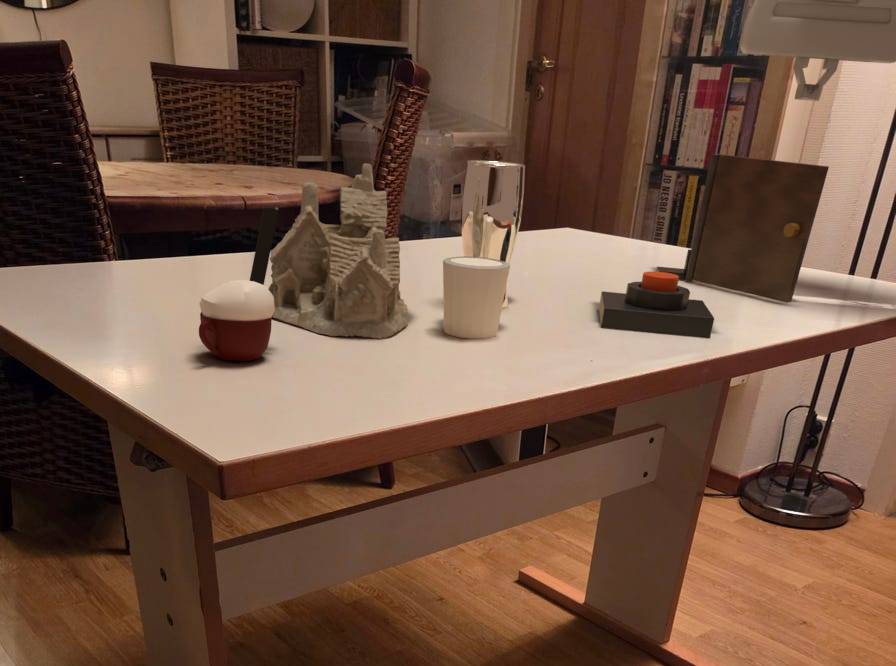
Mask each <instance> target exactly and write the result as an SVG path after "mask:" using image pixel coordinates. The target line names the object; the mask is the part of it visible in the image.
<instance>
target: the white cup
mask: <svg viewBox="0 0 896 666" xmlns="http://www.w3.org/2000/svg"><path fill="white" fill-rule="evenodd" d="M510 268H511V264H508V263H507V262H503V261H500V260H496V259H490V258H483V257H469V256H463V255H462V256H451V257H446V258H443V260H442V280H443V281H442V285H443V289H442V292H443V293H442V294H443V296H442V297H443V332H445V334H447V335H449V336H453V337H456V338H462V339H489V338H493V337H496V336H497V334H498V330H499V325H500V319H501V315H502V310H503V309H502V305H503V300H504V295H505V289H506V284H507V285H508V278H509V275H510Z"/></svg>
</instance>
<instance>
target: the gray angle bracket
mask: <svg viewBox="0 0 896 666" xmlns="http://www.w3.org/2000/svg"><path fill="white" fill-rule="evenodd" d="M690 254H691V249H687V253H686V258H685V263H684V267H683V268H677V267H669V266H668V267H666V266H656V270H655V272H665V273H671V274H675V275H678V276H679V280H678V281H687V282H692V281H693V280H688V279H685V277H686V272H687V268H688V263H689V258H690Z"/></svg>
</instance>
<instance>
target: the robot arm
mask: <svg viewBox="0 0 896 666" xmlns="http://www.w3.org/2000/svg"><path fill="white" fill-rule="evenodd" d="M747 3H748V6H749V10H748V13H747V15H746V18H745V22H744V24H743V28H742V31H741V36H740V39H739V45H738V47H739V49H740V51H741V53H742V54H743V55H756V56H768V57H769V56H772V57H783V58H795V59H794V62H793V66H792V68H793V73H794V77H795V80H796V84H797V87H796V90H795V94H794V100H796V101H797V100H799V101H800V100H801V101H810V102H819V101H820V99H821V95H822V92H823V89H824V86H825V85H826V84H827V83H828V82H829V80H830V79H831V78H832V76H833V75H835V72H837V70H838V66H839V63H840V61H846V62H859V63H860V62H861V63H872V64H873V63H876V64H895V63H896V0H747ZM810 59H812V60H813V59H815V60H823V64H822V70H823V71H824V73H823V74H821V77H820V78H819V79H818V80H817V82H816V83H815V84H812V83H807V81H806V77H805V76H806V75H805V72H804V69H807V68H808V67H809V63H810Z"/></svg>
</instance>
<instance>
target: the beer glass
mask: <svg viewBox="0 0 896 666" xmlns="http://www.w3.org/2000/svg"><path fill="white" fill-rule="evenodd" d="M525 173H526V165H525V164H524V163H518V162H510V161H500V160H483V159H471V160H469V159H468V160H466V167H465V175H464V180H463V187H462V195H461V196H462V197H461V210H460V225H461V228H460V229H461V241H462V242H461V243H462V253H463V255H462V257H463V256H469V257H483V258H490V259H496V260H500V261H503V262H507V263H508V264H510V263H511V259H512V256H513V252H514V248H515V245H516V241H517V239H518V238H517V237H518V234H519V229H520V226H521V220H522V213H523V207H524V195H525V175H526V174H525ZM510 265H511V264H510ZM508 306H509V298H508V283H507V284H506V289H505V295H504V300H503V305H502V310H503V309H506V308H507V307H508Z"/></svg>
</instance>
